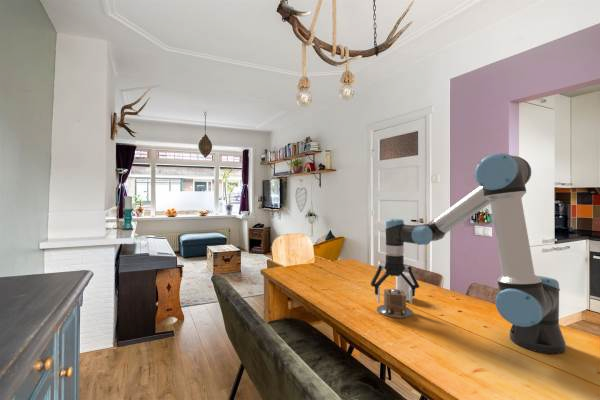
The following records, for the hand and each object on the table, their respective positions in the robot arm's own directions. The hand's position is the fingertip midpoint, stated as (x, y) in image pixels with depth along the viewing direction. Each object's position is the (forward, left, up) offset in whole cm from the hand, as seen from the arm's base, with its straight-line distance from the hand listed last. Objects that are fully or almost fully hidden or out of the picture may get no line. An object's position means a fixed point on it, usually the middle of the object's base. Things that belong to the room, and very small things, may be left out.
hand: (394, 302), depth 135 cm
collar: (-2, +1, -3) cm, 4 cm away
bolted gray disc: (0, 0, -4) cm, 4 cm away
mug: (+11, -16, -4) cm, 20 cm away
